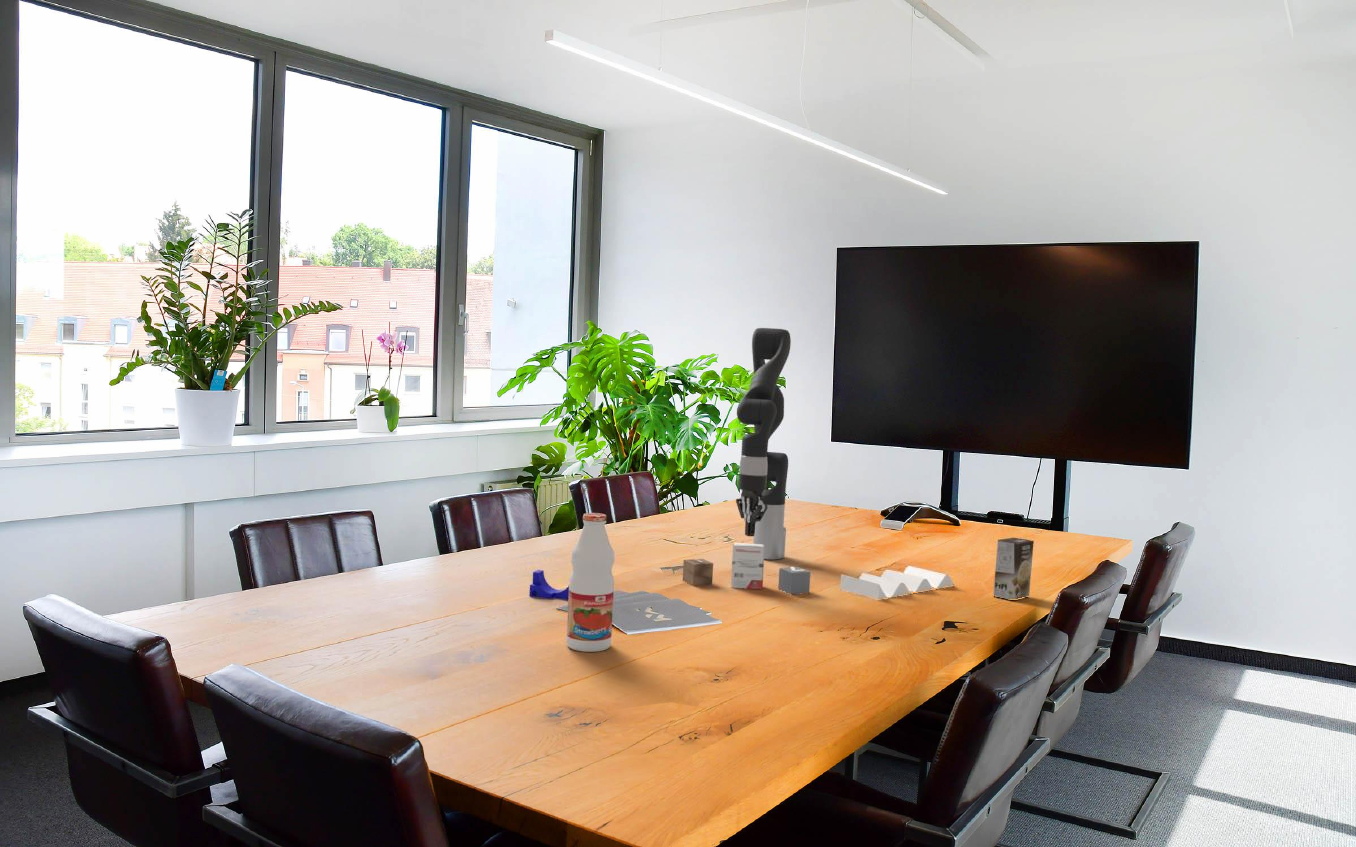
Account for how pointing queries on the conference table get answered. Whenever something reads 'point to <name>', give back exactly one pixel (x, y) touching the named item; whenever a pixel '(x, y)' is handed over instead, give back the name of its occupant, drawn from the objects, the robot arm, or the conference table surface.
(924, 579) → the white taco holder
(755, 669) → the conference table surface
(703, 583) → the walnut block
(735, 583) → the ink box
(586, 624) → the fruit juice
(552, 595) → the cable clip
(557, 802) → the conference table surface
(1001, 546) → the coffee box
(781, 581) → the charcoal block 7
